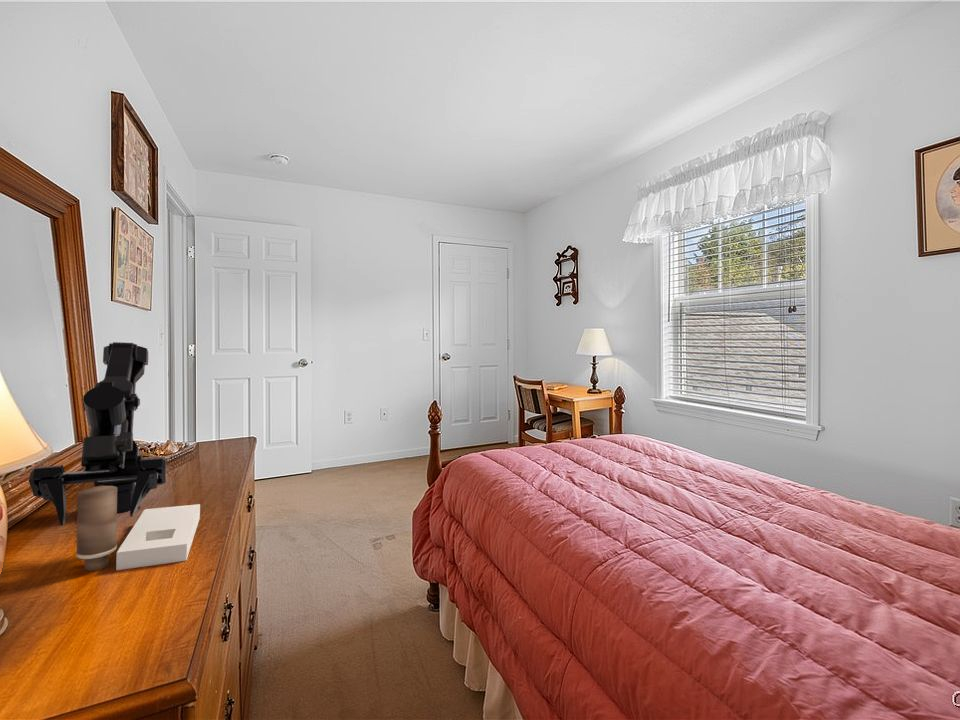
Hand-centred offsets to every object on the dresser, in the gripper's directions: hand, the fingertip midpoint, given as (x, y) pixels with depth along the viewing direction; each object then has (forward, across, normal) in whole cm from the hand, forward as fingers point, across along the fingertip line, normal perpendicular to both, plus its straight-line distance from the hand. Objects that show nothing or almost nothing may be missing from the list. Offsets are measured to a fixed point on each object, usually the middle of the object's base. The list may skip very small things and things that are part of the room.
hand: (97, 520), depth 79 cm
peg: (+6, 0, +6) cm, 8 cm away
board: (0, +9, +11) cm, 14 cm away
